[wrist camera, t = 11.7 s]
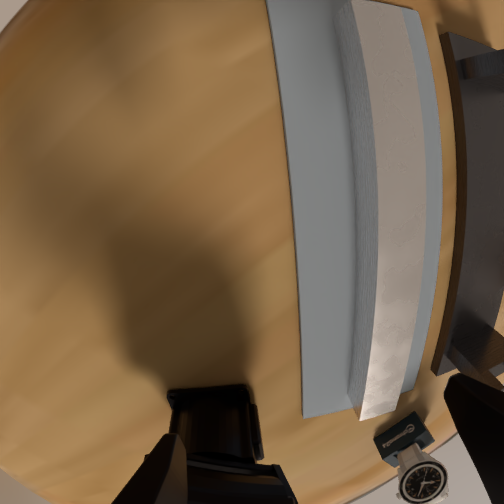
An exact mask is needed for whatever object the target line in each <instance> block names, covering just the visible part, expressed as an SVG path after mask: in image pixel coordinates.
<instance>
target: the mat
mask: <svg viewBox="0 0 504 504" xmlns="http://www.w3.org/2000/svg"><path fill="white" fill-rule="evenodd" d="M347 1H348V0H266V5H267V11H268V17H269V23H270V30H271V36H272V42H273V49H274V56H275V63H276V70H277V77H278V85H279V92H280V100H281V108H282V116H283V125H284V133H285V142H286V151H287V161H288V171H289V181H290V192H291V203H292V215H293V227H294V240H295V254H296V269H297V285H298V302H299V323H300V347H301V379H302V416H303V419H305V418H310V417H315V416H320V415H325V414H329V413H334V412H338V411H342V410H346V409H350V408H353V406H352V404H351V402H350V400H349V398H348V395H347V394H348V385H349V376H350V366H351V355H352V342H353V328H354V309H355V281H356V224H355V196H354V177H353V163H352V150H351V139H350V129H349V120H348V111H347V103H346V96H345V88H344V82H343V75H342V69H341V63H340V57H339V51H338V46H337V41H336V36H335V31H334V26H333V21H332V19H333V17H334V16H335V15H336V14H337V13H338V12H339V10H340V9H341V8H342V7H343V6H344V5H345V4H346V3H347ZM365 1H369V0H365ZM371 2H375V1H371ZM377 3H380V2H377ZM382 4H385V3H382ZM387 5H390V4H387ZM392 6H394V5H392ZM396 7H399V6H396ZM401 10H402V14H403V18H404V21H405V25H406V29H407V33H408V37H409V41H410V46H411V50H412V55H413V60H414V65H415V71H416V77H417V83H418V89H419V96H420V103H421V111H422V121H423V131H424V144H425V161H426V229H425V247H424V260H423V271H422V280H421V289H420V296H419V304H418V310H417V317H416V323H415V329H414V334H413V339H412V344H411V349H410V354H409V359H408V363H407V367H406V372H405V376H404V380H403V384H402V388H401V391H400V394H401V393H404V392H407V391H410V390H413V388H414V385H415V381H416V378H417V374H418V371H419V367H420V363H421V359H422V355H423V351H424V346H425V342H426V337H427V333H428V328H429V323H430V317H431V312H432V306H433V300H434V294H435V287H436V280H437V272H438V263H439V253H440V241H441V225H442V152H441V136H440V125H439V115H438V106H437V99H436V92H435V85H434V79H433V73H432V68H431V63H430V58H429V53H428V48H427V44H426V40H425V36H424V32H423V28H422V24H421V20H420V17H419V13H418V11H415V10H411V9H407V8H403V7H401Z"/></svg>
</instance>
